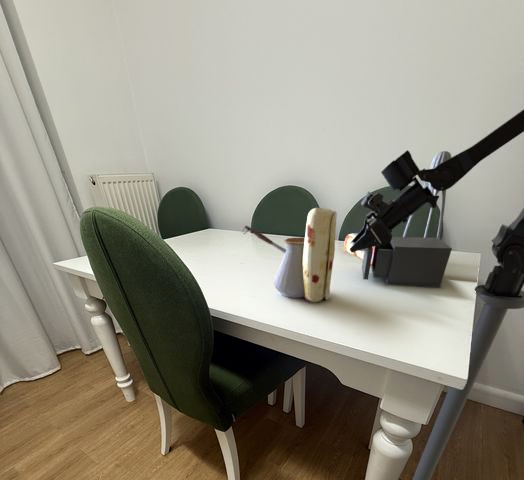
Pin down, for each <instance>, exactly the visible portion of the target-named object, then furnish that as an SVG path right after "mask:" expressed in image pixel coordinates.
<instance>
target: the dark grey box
mask: <svg viewBox="0 0 524 480" xmlns="http://www.w3.org/2000/svg"><path fill="white" fill-rule="evenodd" d="M390 243H391V245H392V247H393V249H394V252H393V256H392V261H391V266H390V271H389V276H388V278H384V279H385V282H386V285H387V286H403V287H404V286H406V287H420V288H421V287H423V288H438V289H439V288H441V285H442V282H443V279H444V275H445V273H446V269H447V266H448V263H449V259H450V256H451V254H452V253H451V252H452V250H453V248H452V247H451V246H450V245H449V244H447V243H446V242H445V241H443V240H442V239H441V238H440V239H439V238H437V237H427V238H424V237H419V236H418V237H416V236H415V237H414V236H413V237H411V236H406V237H403V236H392V240H391V242H390Z"/></svg>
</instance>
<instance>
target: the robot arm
mask: <svg viewBox="0 0 524 480" xmlns="http://www.w3.org/2000/svg"><path fill="white" fill-rule="evenodd" d="M523 133H524V108H523V109H522V110H520V111H519V112H517V113H516V114H515V115H514V116H512V117H511V118H509V119H508V120H507V121H505V122H503V123H502V124H501V125H499V126H498V127H497V128H495V129H494V130H492V131H491V132H490V133H488V134H487V135H485V136H484V137H483V138H481V139H480V140H479V141H477V142H476V143H474V144H473V145H472V146H470V147H468V148H466V149H464V150H463V151H461V152H459V153H457V154H455V155H453V156H451V158H450V159H448V160H446V161H444V162H442V163H440V164H439V165H437V166H436V167H435V168H434V169H430V168H428V169H426V168H423V169H420V167H419V166H418V165H417V163H416V162H415V160H414V158H413V155H412V153H411V152H410V150H407V149H406V150H405V151H404V152H403V153H401V155H399V156H398V157H397V158H396V159H395V160H394V159H393V160H392V161H391V162H390V163H389V164H388V165H387V166H385V167H384V169H383V170H382V171H381V172H380V173H381V175H382V177H383V178H384V179H385V180H386V182H387V184H388V185H389V187H390V189H392V191H393V192H394V191H396V190H397V191H399V192H402V191H403V190H404V191H403V192H402V193H401V194H399V195H398V196H397V197H396V198H395V199H390V200H388V201H387V202H386V201H385V200H384V195H383V194H382V193H380V192H376V193H372V192H370V191H367V193H366V195H365V196H364V197H363V199H362V201H361V202H360V205H361V206H362V207H364V208H367V209H369V210H371V211H370V212H368V213H367V214H366V215H365V218H364V222H363V226H362V228H361V229H360V230H359V232H357V233H358V234H357V235H356V237H355V238H354V239H353V240H352V241H351V242H350V244H351V243H352V242H355V244H354V245H353V246H352V247H351V248H350V251H351V252H355V251H358V250H362V249H366V248H369V247H374V246H378V245H379V246H380V245H381V243H382V244H383V246H385V245H387V244H388V243H389V242H391V240H392V237H393V234H392V232H393V230H394V229H395V228H397V227H398V226H399V225H400V224H402V223H403V224H405V223H407V222H408V219H409V218H410V216H411V215H412V214H414V215H415V214H416V213H417V212H418V211H419V210H421V209H422V208H423V207H425V206H426V205H427V204H428V206H429V207H430V209H431V208H433V209H435V208H437V205H438V200H439V198H440V195H437V196H434V195H433V194H432V192H431V191H430V189H429V188H428V186H426V187H425V188H423V185H422V183H420V181H422V182H424V183H425V182H426V183H428V184H429V183H430V184H431V186H432V187H433V189H435V190H438V191H439V192H442V191H444V190H446V191H447V190H449V189H451V188H452V187H454V186H455V185H456V184H457V183H458V182H459V181H460V180H461V179H463V178H464V177H465V176H466V175H467V174H468V173H469V172H470V171H471V170H472V169H474V168H475V166H477V165H478V164H479V163H480V162H481V161H483V160H484V159H485V158H487V157H489V156H490V155H492V154H493V153H494V152H497V151H498V150H500V149H501V148H502V147H504V146H505V145H507V144H508V143H509V142H511V141H512V140H513V139H515V138H517V137H518V136H520V135H521V134H523ZM416 176H418V178H419V179H420V181H419V180H418V178H417V177H416ZM412 183H414V184H412ZM410 184H412V185H411V186H410V187H408V186H409V185H410ZM407 187H408V188H407ZM405 188H407V189H406V190H405ZM380 242H381V243H380ZM491 242H492V246H491V251H492V254H493V256H494V257H495V258H496V261H497V262H496V263H497V264H499V265H494V267H493V268H492V271H490V272H489V273H488V276H487V278H486V280H485V283H484V285H485V286H483V288H484V289H485V290H486V291H487V292H488V293H489V294H491V295H492V296H503V297H520V298H522V297H523V295H522V294H520V291H521V290H522V289H523V287H524V207H523V208H522V210H521V211H520V212H519V214H518V216H517V217H516V218H515V219H514V221H512V222H511V223H510V224H509V225H506V224H505V223H504V224H501V226H500V228H499V229H498V232H497V234H496V236H495V237H494V238H493V239H492V240H491Z"/></svg>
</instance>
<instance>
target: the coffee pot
mask: <svg viewBox="0 0 524 480" xmlns="http://www.w3.org/2000/svg"><path fill="white" fill-rule="evenodd" d="M244 230H246V231H245V232H244ZM248 231H249V232H250V234H253V235H254V236H255V237H257V238H258V239H259V240H261V241H263V242H265V243H267V244H268V245H271V246H273V247H274V248H276V249H277V250H279V251H280V252H282V253H283V257H282V259H281V262H280V264H279V267H278V269H277V271H276V274H275V276H274V278H273V286H274V288H275V289H276V290H277V291H278V292H279V293H280V295H282V296H283V297H286V298H291V299H302V298H305V296H304V281H303V250H304V241H305V237H289V238H285V239H284V240H283V243H284V244H285V248H284V247H282V246H281V245H279V244H277V243H276V242H274V241H273V240H272V239H270V238H269V237H267V236H266V235H264V234H263V233H261V232H259V231H256V230H255V229H254V228H252V227H250V226H248V225H245V226H244V227H243V229H242V234H244V235H246V234H247V233H248Z"/></svg>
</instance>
